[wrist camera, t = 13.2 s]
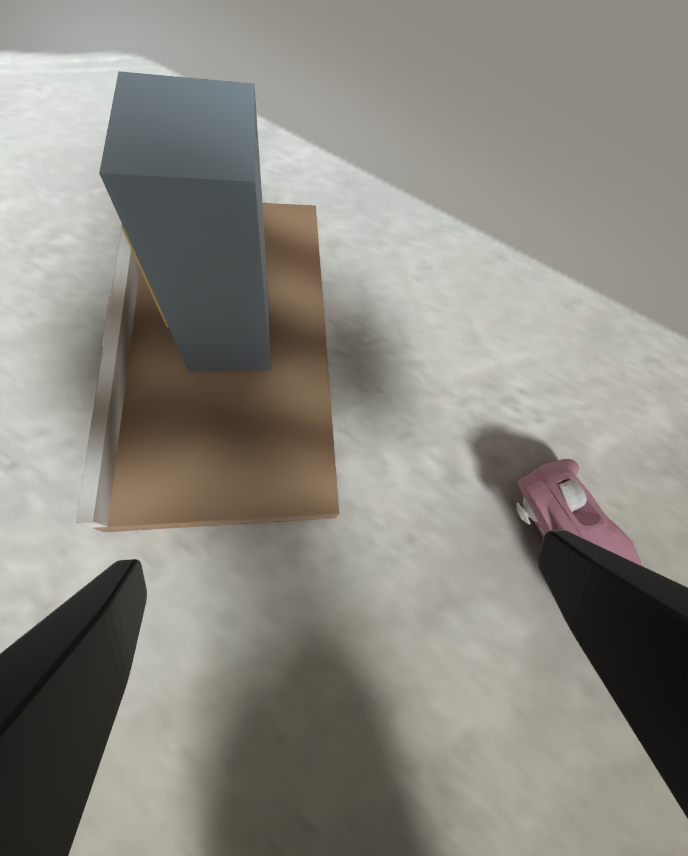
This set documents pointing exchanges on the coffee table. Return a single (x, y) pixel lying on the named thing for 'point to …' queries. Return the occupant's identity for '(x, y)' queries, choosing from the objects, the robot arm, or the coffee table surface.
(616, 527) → the pink elongated piece
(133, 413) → the board
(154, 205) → the tea tin
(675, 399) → the coffee table surface
